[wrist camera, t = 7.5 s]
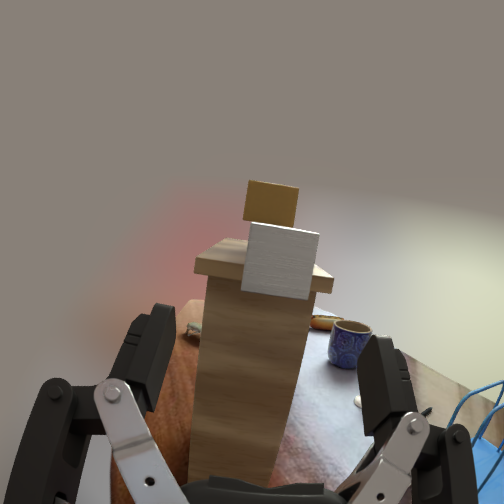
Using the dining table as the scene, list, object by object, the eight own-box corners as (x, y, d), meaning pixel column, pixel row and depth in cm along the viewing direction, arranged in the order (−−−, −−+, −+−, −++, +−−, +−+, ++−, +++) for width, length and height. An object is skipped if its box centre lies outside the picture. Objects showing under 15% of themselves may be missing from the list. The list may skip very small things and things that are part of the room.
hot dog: (344, 333, 108) (347, 320, 107) (309, 330, 106) (312, 317, 106) (339, 328, 113) (342, 316, 112) (306, 325, 111) (308, 312, 111)
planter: (338, 374, 74) (348, 333, 72) (317, 356, 84) (326, 319, 83) (369, 370, 77) (380, 332, 76) (348, 354, 87) (357, 319, 86)
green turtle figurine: (181, 341, 78) (186, 323, 78) (184, 334, 89) (188, 318, 89) (214, 351, 79) (219, 333, 80) (213, 342, 90) (217, 326, 90)
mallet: (329, 303, 14) (353, 149, 13) (217, 287, 14) (242, 129, 13) (283, 252, 36) (293, 192, 36) (240, 246, 36) (249, 185, 35)
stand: (262, 531, 25) (334, 277, 22) (176, 520, 25) (195, 256, 22) (259, 421, 50) (293, 248, 47) (203, 413, 50) (226, 237, 47)
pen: (434, 405, 56) (429, 405, 57) (400, 429, 47) (395, 429, 48) (434, 409, 55) (430, 409, 56) (400, 434, 47) (395, 434, 48)
